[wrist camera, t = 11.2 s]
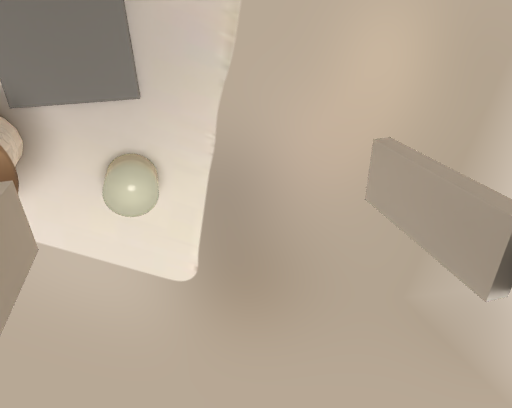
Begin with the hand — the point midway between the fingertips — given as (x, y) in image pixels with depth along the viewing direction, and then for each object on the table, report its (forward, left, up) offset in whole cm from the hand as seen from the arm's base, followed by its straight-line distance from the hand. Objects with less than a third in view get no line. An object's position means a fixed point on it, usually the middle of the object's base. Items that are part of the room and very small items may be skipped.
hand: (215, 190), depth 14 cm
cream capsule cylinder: (+12, -6, -32) cm, 35 cm away
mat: (-4, -10, -32) cm, 33 cm away
